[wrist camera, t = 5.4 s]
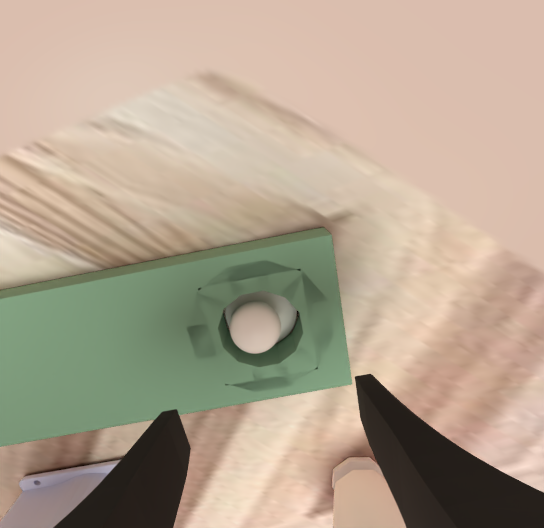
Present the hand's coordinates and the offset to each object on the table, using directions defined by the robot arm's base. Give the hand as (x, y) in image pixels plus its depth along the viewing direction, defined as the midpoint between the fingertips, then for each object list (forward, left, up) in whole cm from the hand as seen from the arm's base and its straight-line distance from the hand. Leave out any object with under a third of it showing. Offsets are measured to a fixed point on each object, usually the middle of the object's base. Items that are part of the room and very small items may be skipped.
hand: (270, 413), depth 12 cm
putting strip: (-7, 0, -9) cm, 12 cm away
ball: (-1, 0, -7) cm, 7 cm away
